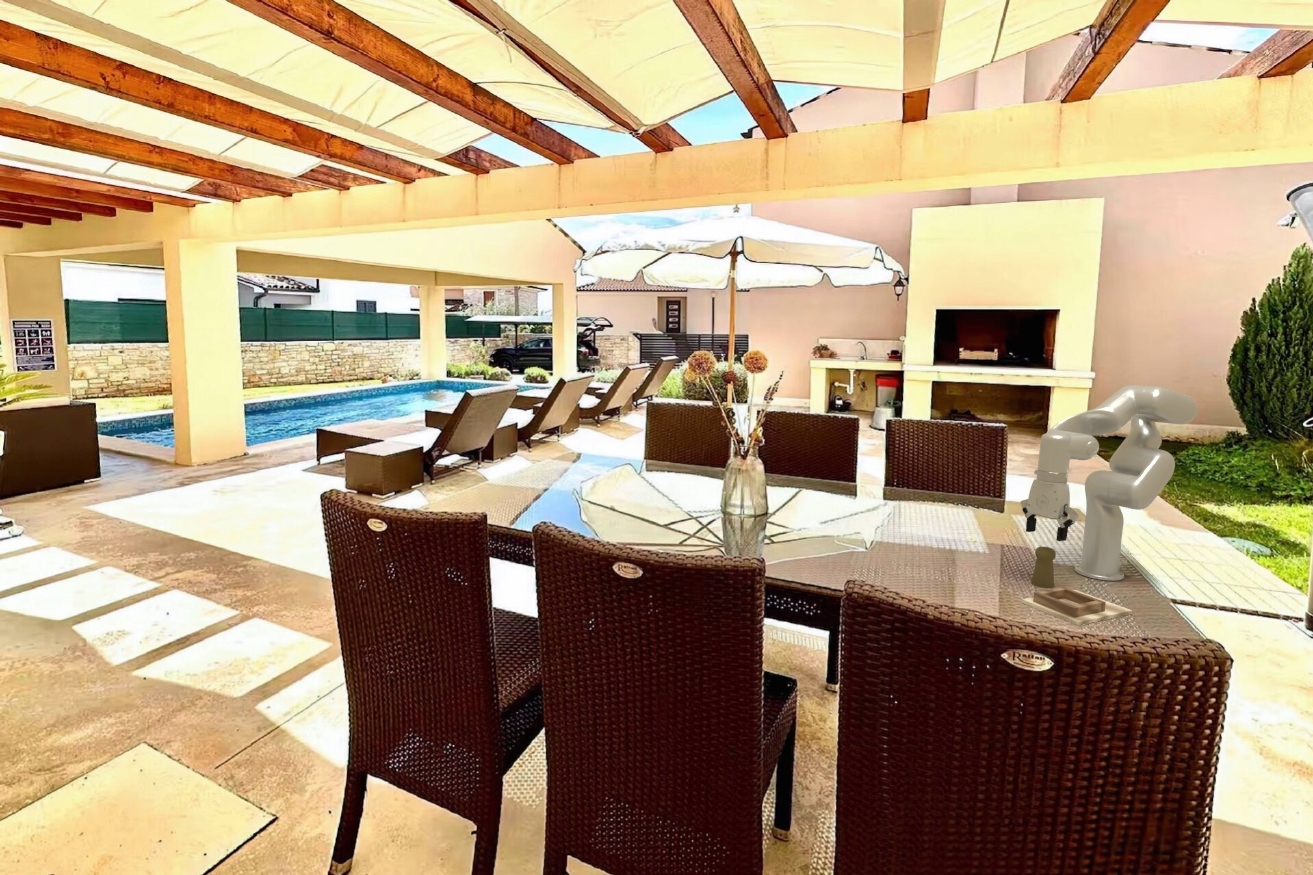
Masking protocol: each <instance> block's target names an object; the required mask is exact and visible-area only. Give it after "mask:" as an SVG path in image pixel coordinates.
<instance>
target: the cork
mask: <svg viewBox="0 0 1313 875" xmlns="http://www.w3.org/2000/svg"><path fill="white" fill-rule="evenodd" d="M1034 554H1035V555H1034V556H1035V557H1036V560H1035V564H1034V567H1033V572H1032V576H1031V580H1030V584H1031V585H1033V586H1034V587H1038V588H1042V589H1055V586H1056V585H1055V573H1054V571H1055V570H1054V560H1055V558H1056V556H1057V552H1056V550H1055V549H1054V548H1052V547H1049V546H1038V547H1036V549H1035V552H1034Z"/></svg>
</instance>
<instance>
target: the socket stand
mask: <svg viewBox="0 0 1313 875" xmlns="http://www.w3.org/2000/svg"><path fill="white" fill-rule="evenodd" d="M1021 603H1022V604H1023V605H1024V604H1025V605H1026V606H1028V607H1031V608H1034V609H1036V610H1039V611H1041V612H1044V613H1046V614H1049V615H1051V616H1053V617H1055V618H1057V619H1060V620H1063V621H1065V620H1067V621H1066V622H1068V621H1069V623H1070V622H1072V623H1071V624H1073V625H1075V624H1076V625H1075V626H1077V627H1079V626H1084V625H1083V624H1085V625H1088V624H1093V623H1092V622H1094V623H1098V621H1099V622H1101V621H1100V620H1103V621H1107V620H1111V618H1112V619H1116V618H1120V617H1125V616H1130V615H1132V614H1133V610H1132V609H1129V608H1126V607H1124V606H1122V605H1118V604H1115V603H1113V602H1110V601H1107V600H1104V599H1102V598H1098V597H1096V596H1093V595H1090V594H1087V593H1085V592H1082V591H1080V590H1076V589H1072V588H1068V587H1067V586H1066V587H1065V586H1062V587H1057V588H1049V589H1046V590H1042V591H1041V590H1040V591H1037V592H1036V591H1035V592H1033V597H1026V598H1022V599H1021Z"/></svg>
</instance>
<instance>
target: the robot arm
mask: <svg viewBox="0 0 1313 875" xmlns="http://www.w3.org/2000/svg"><path fill="white" fill-rule="evenodd" d="M1198 409H1199V408H1198V404H1197V402H1196V400H1195V399H1194V398H1193V397H1192V396H1190V395H1188V394H1184V393H1182V392H1179V391H1177V390H1173V389H1170V388H1168V387H1167V388H1166V387H1163V386H1157V385H1156V386H1152V385H1141V384H1140V385H1139V384H1130V385H1129V384H1128V385H1126V386H1125V385H1124V386H1123V387H1121V388H1119V389H1118V390H1117V391H1116V392H1114V393H1113V394H1112V395H1110V396H1109V397H1108V398H1107V399H1105V400H1104V401H1103V402H1102V403H1100V404H1099V405H1098V406H1097V407H1095V408H1093V409H1089V410H1086V411H1083V412H1080V413H1076V414H1074V415H1071V416H1069V417H1065V418H1064V419H1062V420H1060V421H1059V422H1057V423H1056V424H1055V425H1054V426H1052V427H1051V428H1050V429H1049V430H1048V431H1047V432H1046V433H1044V434H1042V435H1041V437H1040V443H1039V444H1040V445H1039V450H1038V451H1039V453H1038V454H1039V455H1038V461H1037V462H1038V464H1037V469H1035V470H1034V473H1033V474H1034V475H1036V478H1034V479H1033V481H1032V483H1031V485H1030V489H1029V492H1028V497H1027V498H1026V499H1023V500H1020V505H1021V508H1022V512H1023V513H1024V518H1026V524H1025V532H1026V533H1033V532H1036V529H1037V521H1038V520H1037V518H1036V517H1037V516H1039V517H1042V518H1045V519H1050V520H1056V521H1057V523H1058V525H1059V526H1057V532H1056V539H1055V540H1056V541H1057V542H1064V541H1067V538H1068V533H1069V532H1068V531H1069V528H1070V527H1071V526H1072V525H1074V524H1075V523H1076V521H1077V520H1078V518H1079V516H1080V514H1079V513H1078V512H1077V511H1075V510H1074V509H1073V508H1071V507H1070V504H1071V502H1070V501H1071V500H1070V499H1071V496H1070V484H1069V483H1068V476H1069V468H1070V461H1071V460H1076V461H1077V460H1078V461H1087V460H1090V459H1092V458H1095V456H1097V454H1098V453H1099V449H1100V444H1099V441H1098V439H1097V438H1096V437H1095V436H1097V435H1098V436H1099V435H1105V434H1106V435H1107V434H1111V433H1115V432H1118V431H1119V430H1121V428H1123V427H1124V426H1126V424H1127V423H1128V422H1130V430H1129V433H1128V434H1127V436H1126V437H1125V438H1124V440H1123V441H1122V443H1121V444H1120V445H1119V446H1118V448H1117V449H1116V450H1115V451H1114V453H1113V454H1112V456H1111V457H1110V459H1109V464H1108V466H1109V468H1110V470H1095V471H1092V472H1091V473H1089V475H1088V476H1087V477H1086V479H1085V481H1084V492H1085V500H1086V503H1085V504H1086V511H1085V521H1084V531H1083V542H1082V552H1081V559H1080V560H1081V563H1079V564H1076V565H1074V571H1075V573H1077V574H1079V575H1081V576H1083V577H1087V578H1091V579H1095V580H1100V581H1113V582H1116V581H1122V580H1124V578H1125V573H1124V572H1123V571H1121V570H1120V568H1122V567H1126V566H1127V565H1128V561H1127V560H1126V559H1120V558H1121V549H1122V541H1123V540H1122V539H1123V529H1124V522H1125V520H1124V515H1123V512H1122V510H1121V507H1122V508H1126V509H1130V510H1138V511H1139V510H1144V509H1146V508H1148V507H1150V505H1151V504H1152V503H1153V502H1154V501H1155V500H1156V498H1157V497H1158V496H1159V494H1160V493H1161V492H1162V491H1163V489H1164V488H1165V487H1166V485H1167V484H1169V483H1168V482H1170V480H1171V478H1172V476H1173V475H1174V472H1175V468H1176V462H1175V458H1174V456H1173V455H1172V454H1171V453H1170V452H1168V451H1166V450H1163V449H1159V448H1161V446H1162V443H1163V442H1162V441H1163V440H1162V439H1163V438H1162V436H1161V435H1162V434H1161V433H1160V431H1159V429H1158V428H1157V425H1156V423H1164V424H1172V425H1173V424H1174V425H1186V424H1189V423H1190V422H1192V421H1193V420H1194V419H1195V418H1196V417H1197V415H1198V412H1199V411H1198ZM1068 517H1069V518H1068Z"/></svg>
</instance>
